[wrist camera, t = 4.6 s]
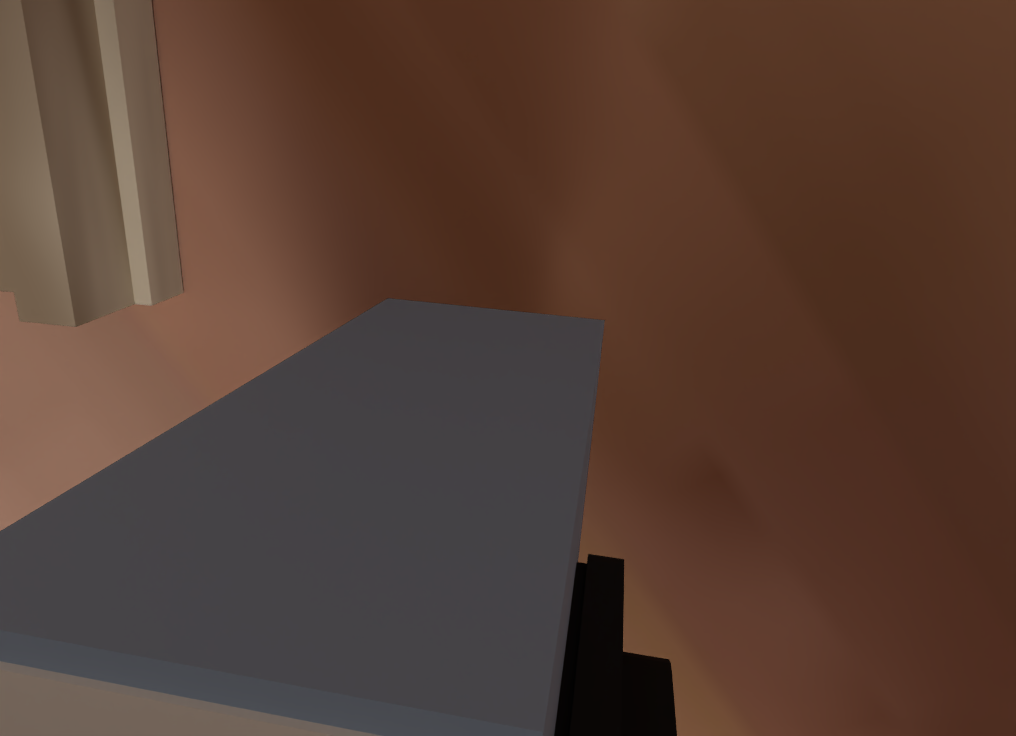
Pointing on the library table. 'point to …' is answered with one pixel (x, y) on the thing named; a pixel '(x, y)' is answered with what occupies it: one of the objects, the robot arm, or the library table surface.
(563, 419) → the blue book
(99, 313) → the book rack
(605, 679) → the robot arm
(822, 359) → the library table surface
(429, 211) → the library table surface
